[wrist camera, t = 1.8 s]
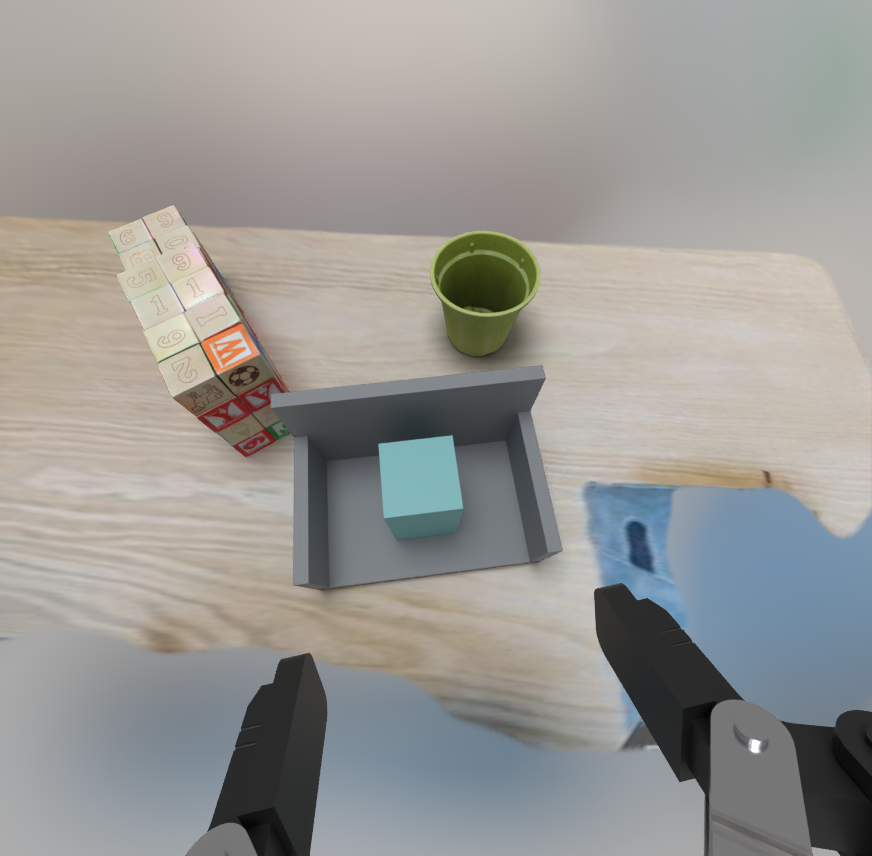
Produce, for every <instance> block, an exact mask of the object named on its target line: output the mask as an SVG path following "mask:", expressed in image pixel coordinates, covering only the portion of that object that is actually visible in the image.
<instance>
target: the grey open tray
mask: <svg viewBox="0 0 872 856" xmlns="http://www.w3.org/2000/svg"><path fill="white" fill-rule="evenodd" d="M545 379H546V377H545V373H544V369H543V365H540V366H531V367H521V368H512V369H503V370H493V371H484V372H474V373H465V374H456V375H446V376H437V377H428V378H418V379H409V380H400V381H390V382H381V383H371V384H362V385H353V386H343V387H334V388H325V389H315V390H306V391H296V392H287V393H278V394H271V409H272V410H273V412H274V413H275V414H276V415H277V417H278V418H279V419H280V420H281V421H282V423H283V424H284V425H285V426H286V428H287V429H288V430H289V431H290V432H291V434H292V435H293V436H294V534H293V585H295V586H300V587H306V588H312V589H317V590H323V589H331V588H339V587H346V586H354V585H362V584H370V583H377V582H385V581H393V580H401V579H408V578H416V577H424V576H431V575H439V574H447V573H455V572H462V571H470V570H478V569H486V568H493V567H501V566H509V565H517V564H524V563H532V562H540V561H542V560H544V559H546V558H548V557H550V556H552V555H554V554H557V553H559V552H561V551H563V549H562V545H561V541H560V536H559V532H558V528H557V524H556V519H555V515H554V511H553V506H552V502H551V498H550V493H549V489H548V485H547V480H546V476H545V472H544V467H543V463H542V459H541V454H540V450H539V446H538V441H537V437H536V433H535V429H534V424H533V420H532V416H531V411H530V410H531V408H532V406H533V404H534V402H535V400H536V398H537V396H538V393H539V391H540V389H541V387H542V385H543V383H544V381H545ZM443 436H453V442H454V449H455V456H456V463H457V469H458V476H459V483H460V489H461V496H462V503H463V512H462V515H461V519H460V523H459V526H458V530H457V533H449V534H441V535H433V536H425V537H417V538H409V539H401V540H396V539H395V537H394V535H393V533H392V532H391V530H390V528H389V526H388V525H387V523H386V521H385V519H384V512H383V499H382V486H381V472H380V459H379V445H378V444H381V443H390V442H399V441H408V440H416V439H425V438H434V437H443Z"/></svg>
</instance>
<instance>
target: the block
mask: <svg viewBox="0 0 872 856" xmlns="http://www.w3.org/2000/svg"><path fill="white" fill-rule="evenodd" d="M378 445H379V459H380V472H381V486H382V499H383V512H384V519H385V521H386V523H387V525H388V526H389V528H390V530H391V532H392V533H393V535H394V537H395V539H396V540H401V539H409V538H417V537H425V536H433V535H441V534H449V533H457V530H458V526H459V523H460V519H461V515H462V512H463V503H462V496H461V489H460V483H459V476H458V469H457V463H456V456H455V449H454V442H453V436H443V437H434V438H425V439H416V440H408V441H399V442H390V443H381V444H378Z"/></svg>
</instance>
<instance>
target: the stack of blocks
mask: <svg viewBox="0 0 872 856" xmlns="http://www.w3.org/2000/svg"><path fill="white" fill-rule="evenodd" d="M108 233H109V235H110V237H111V239H112V241H113V243H114V246H115V248H116V249H117V251H118V253H119V257H120V259H121V261H122V263H123V265H124V267H125V269H126V271H124V272H121V273H119V274H117V275H116V276H117V278H118V280H119V282H120V284H121V286H122V288H123V290H124V292H125V294H126V296H127V299H128V301H129V302H130V303H131V304H132V307H133V309H134V311H135V313H136V315H137V317H138V319H139V321H140V323H141V325H142V327H143V329H144V332H143V333H144V336H145V338H146V340H147V342H148V344H149V346H150V348H151V351H152V353H153V355H154V357H155V359H156V361H157V362H158V368H159V370H160V372H161V374H162V377H163V379H164V381H165V383H166V386H167V388H168V390H169V392H170V394H171V396H172V397H173V398H174V399H175V400H176V401H177V402H178V403H180V404H181V405H182V406H184V407H185V408H186V409H187V410H189V411H190V412H191V413H193V414H194V415H195V416H196V417H197V418H198V419H199V420H200V421H201V422H202V423H203V424H205V425H206V426H207V427H209V428H210V429H211V430H213V431H214V432H215V433H217V434H218V435H220V436H221V437H223V438H224V439H225V440H226V441H227V442H228V443H230V444H231V445H232V446H233V447H234V448H235V449H236V450H238V451H239V452H240V453H241V454H242V455H244V456H245V457H247V456H249V455H251V454H253V453H255V452H257V451H258V450H260V449H262V448H264V447H266V446H268V445H269V444H271V443H273V442H275V441H276V440H278V439H279V438H281V437H283V436H285V435H287V434H289V433H290V431H289V430H288V429H287V428H286V426H285V425H284V424H283V423H282V421H281V420H280V419H279V418H278V417H277V415H276V414H275V413H274V412H273V410H272V409H271V394H278V393H287V392H289V391H288V389H287V387H286V386H285V384H284V382H283V380H282V378H281V377H280V375H279V373H278V371H277V369H276V368H275V366H274V364H273V362H272V361H271V359H270V357H269V355H268V354H267V352H266V351H265V349H264V348H263V346H262V345H261V343H260V342H259V340H258V339H257V337H256V335H255V333H254V332H253V330H252V329H251V327H250V326H249V324H248V322H247V321H246V319H245V317H244V315H243V311H242V309H241V307H240V306H239V304H238V302H237V300H236V299H235V297H234V295H233V293H232V292H231V290H230V289H229V287H228V286H227V284H226V282H225V281H224V279H223V277H222V276H221V274H220V273H219V271H218V270H217V268H216V266H215V265H214V263H213V262H212V260H211V259H210V257H209V255H208V254H207V252H206V251H205V249H204V247H203V246H202V244H201V243H200V241H199V240H198V238H197V237H196V235H195V234H194V233H193V232H192V230H191V229H190V227H189V226H188V225H187V224H186V222H185V220H184V219H183V218H182V216H181V214H180V213H179V212H178V210H177V208H176V207H175V205H173V206H170V207H168V208H165V209H163V210H160V211H158V212H155V213H153V214H150V215H147V216H145V217H143V218H142V219H140V220H137V221H134V222H132V223H129V224H127V225H124V226H122V227H119V228H117V229H114V230H112V231H109V232H108Z"/></svg>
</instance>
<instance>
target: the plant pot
mask: <svg viewBox="0 0 872 856" xmlns="http://www.w3.org/2000/svg"><path fill="white" fill-rule="evenodd" d="M430 279H431V284H432V287H433V289H434V291H435V293H436V295H437V296H438V297H439V299H440V300H441V302H442V306H443V311H444V316H445V321H446V327H447V333H448V337H449V339H450V341H451V342H452V344H453V346H454V347H455V348H456V349H457V350H459V351H460V352H462V353H464V354H467V355H471V356H483V355H486V354H489V353H492V352H495V351H497V350H498V349H500V348H501V346H502V345H503V344H504V342H505V340H506V338H507V336H508V334H509V332H510V330H511V328H512V326H513V324H514V322H515V320H516V317H517V315H518V313H519V311H520V310H522V308H523V307H525V306H526V305H527V304H528V303H529V302H530V301H531V300H532V299H533V297H534V296H535V294H536V292H537V290H538V287H539V284H540V268H539V264H538V261H537V259H536V257H535V256H534V254H533V253H532V252H531V251H530V250H529V249H528V248H527V247H526V246H525V245H524V244H522V243H521V242H520V241H518V240H517V239H515V238H513V237H511V236H508V235H505V234H502V233H498V232H489V231H474V232H468V233H464V234H461V235H458V236H456V237H454V238H452V239H450V240H449V241H447V242H446V243H445V244H443V245H442V246H441V247H440V248H439V250H438V251H437V252H436V254H435V256H434V258H433V260H432V263H431V267H430ZM480 312H484V313H480Z"/></svg>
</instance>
